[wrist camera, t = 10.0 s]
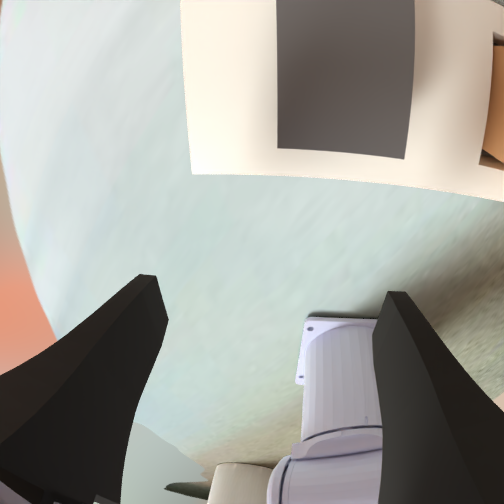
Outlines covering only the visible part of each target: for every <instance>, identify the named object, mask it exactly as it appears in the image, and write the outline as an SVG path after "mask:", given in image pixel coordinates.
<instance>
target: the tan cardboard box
mask: <svg viewBox="0 0 504 504" xmlns="http://www.w3.org/2000/svg"><path fill="white" fill-rule="evenodd" d="M482 149H483V150H485V151H486V152H488V153H489V154H491V155H492V156H494V157H495V158H497V159H498V160H500V161H501V162H502V163H504V46H493V60H492V77H491V89H490V99H489V107H488V115H487V122H486V128H485V134H484V140H483V145H482Z"/></svg>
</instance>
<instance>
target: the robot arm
mask: <svg viewBox="0 0 504 504" xmlns="http://www.w3.org/2000/svg"><path fill="white" fill-rule="evenodd" d="M168 320H169V319H168V316H167V312H166V309H165V306H164V302H163V299H162V295H161V292H160V288H159V284H158V281H157V277H156V276H153V275H143V274H139V275H138V276H137V277H135V278H134V279H133V280H132V281H130V282H129V283H128V284H127V285H126V286H124V287H123V288H122V289H121V290H120V291H118V292H117V293H116V294H115V295H114V296H113V297H111V298H110V299H109V300H108V301H107V302H106V303H104V304H103V305H102V306H101V307H100V308H99V309H97V310H96V311H95V312H94V313H93V314H92V315H90V316H89V317H88V318H87V319H85V320H84V321H83V322H82V323H80V324H79V325H78V326H77V327H75V328H74V329H73V330H72V331H70V332H69V333H68V334H67V335H65V336H64V337H63V338H61V339H60V340H58V341H57V342H56V343H54V344H53V345H51V346H50V347H48V348H47V349H45V350H44V351H42V352H41V353H39V354H38V355H36V356H34V357H33V358H31V359H29V360H28V361H26V362H24V363H23V364H21V365H19V366H17V367H16V368H14V369H12V370H10V371H8V372H6V373H4V374H2V375H0V504H93V503H94V502H97V503H99V504H120V500H121V498H120V497H121V486H122V476H123V469H124V462H125V456H126V451H127V446H128V441H129V436H130V431H131V428H132V423H133V420H134V416H135V412H136V409H137V406H138V403H139V400H140V397H141V395H142V392H143V390H144V387H145V385H146V383H147V380H148V378H149V375H150V373H151V370H152V368H153V366H154V363H155V361H156V358H157V356H158V353H159V351H160V348H161V346H162V342H163V339H164V335H165V332H166V328H167V324H168ZM295 383H296V384H300V385H304V394H303V413H302V430H301V442H300V443H293V444H292V452H291V455H287V456H285V457H283V458H282V459H281V460H280V462H279V463H278V464H277V465H276V467H275V468H274V470H273V471H272V474H271V476H270V479H269V483H268V488H267V504H504V412H503V411H502V410H501V409H500V408H499V407H498V406H497V405H496V404H495V403H494V402H493V401H492V400H491V399H490V398H489V397H488V396H487V395H486V394H485V393H484V391H483V390H482V389H481V388H480V387H479V386H478V385H477V384H476V382H475V381H474V380H473V379H472V378H471V377H470V376H469V374H468V373H467V372H466V371H465V370H464V368H463V367H462V366H461V365H460V363H459V362H458V361H457V360H456V358H455V357H454V356H453V355H452V353H451V352H450V351H449V349H448V348H447V347H446V345H445V344H444V343H443V341H442V340H441V339H440V337H439V336H438V335H437V333H436V332H435V331H434V329H433V328H432V327H431V325H430V324H429V322H428V321H427V320H426V318H425V317H424V316H423V314H422V313H421V311H420V310H419V309H418V307H417V306H416V305H415V303H414V302H413V301H412V299H411V298H410V297H409V296H408V294H407V293H406V292H397V291H388V292H387V295H386V298H385V300H384V303H383V306H382V309H381V312H380V315H379V317H378V319H351V318H326V317H308V318H306V319H305V322H304V329H303V335H302V342H301V348H300V354H299V360H298V366H297V372H296V378H295Z"/></svg>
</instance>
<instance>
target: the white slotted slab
mask: <svg viewBox="0 0 504 504" xmlns="http://www.w3.org/2000/svg"><path fill="white" fill-rule="evenodd" d="M180 8H181V36H182V56H183V73H184V88H185V101H186V114H187V126H188V137H189V147H190V158H191V167H192V174H244V175H276V176H297V177H313V178H328V179H341V180H353V181H364V182H374V183H383V184H392V185H401V186H409V187H417V188H424V189H431V190H438V191H445V192H451V193H457V194H463V195H469V196H475V197H481V198H486V199H491V200H497V201H502V202H504V163H502V162H501V161H500V160H498V159H497V158H495V157H494V156H492V155H491V154H489V153H488V152H486V151H485V150H483V149H482V145H483V140H484V134H485V128H486V122H487V115H488V107H489V99H490V89H491V77H492V60H493V46H504V7H503V6H501V5H499V4H497V3H495V2H493V1H491V0H180Z"/></svg>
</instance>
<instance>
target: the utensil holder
mask: <svg viewBox="0 0 504 504" xmlns="http://www.w3.org/2000/svg"><path fill="white" fill-rule="evenodd" d="M272 471H273V469H270V468H267V467H262V466H257V465H251V464H242V463H222V464H219V465H217V467H216V470H215V474H214V478H213V482H212V486H211V490H210V494H209V498H208V503H207V504H267V488H268V483H269V479H270V476H271V474H272Z"/></svg>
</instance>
